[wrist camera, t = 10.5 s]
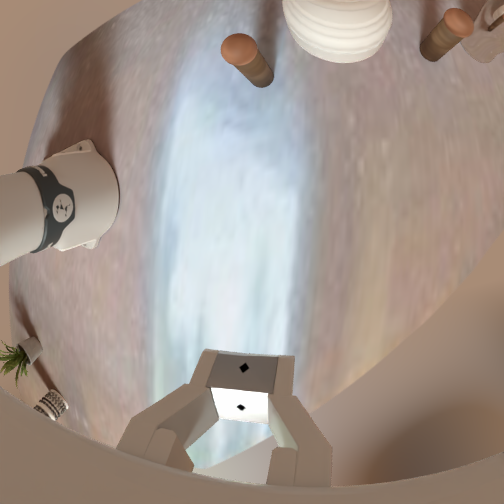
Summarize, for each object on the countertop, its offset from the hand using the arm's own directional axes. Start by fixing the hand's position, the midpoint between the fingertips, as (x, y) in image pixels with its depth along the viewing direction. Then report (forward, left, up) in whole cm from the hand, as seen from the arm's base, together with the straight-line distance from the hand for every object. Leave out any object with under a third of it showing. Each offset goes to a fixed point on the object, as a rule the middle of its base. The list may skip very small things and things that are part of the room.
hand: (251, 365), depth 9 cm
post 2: (+16, +24, -29) cm, 40 cm away
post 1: (-6, +17, -29) cm, 34 cm away
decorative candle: (-70, -65, -29) cm, 100 cm away
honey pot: (+3, +26, -29) cm, 39 cm away
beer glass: (+24, +28, -29) cm, 47 cm away
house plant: (-69, -40, -29) cm, 85 cm away
